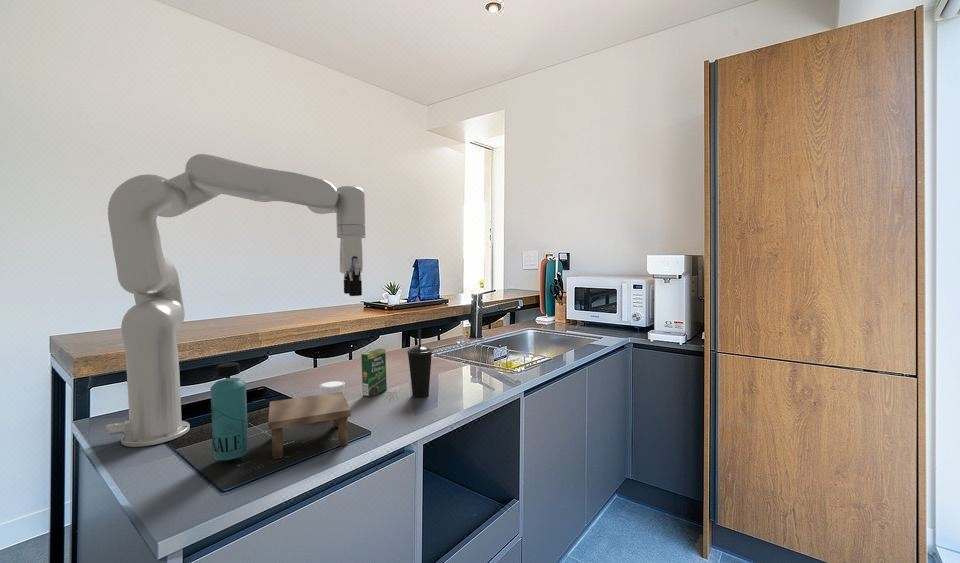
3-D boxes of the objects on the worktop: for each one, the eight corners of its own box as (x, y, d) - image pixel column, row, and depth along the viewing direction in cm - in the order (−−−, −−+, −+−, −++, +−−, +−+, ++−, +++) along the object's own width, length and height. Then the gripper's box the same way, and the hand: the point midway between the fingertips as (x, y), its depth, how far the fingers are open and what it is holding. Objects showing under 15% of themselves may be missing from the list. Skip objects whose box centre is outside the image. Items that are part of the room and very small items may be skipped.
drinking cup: (403, 398, 122) (402, 330, 121) (413, 390, 129) (412, 326, 128) (428, 400, 120) (427, 331, 119) (436, 392, 127) (436, 327, 126)
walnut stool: (269, 461, 84) (268, 422, 83) (270, 435, 96) (269, 401, 96) (351, 445, 91) (350, 409, 90) (342, 423, 103) (341, 391, 103)
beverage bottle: (242, 450, 89) (238, 358, 88) (255, 459, 85) (252, 362, 84) (207, 461, 84) (203, 364, 83) (219, 472, 80) (215, 369, 79)
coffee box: (368, 398, 122) (367, 354, 121) (361, 396, 124) (360, 353, 123) (387, 390, 129) (386, 349, 128) (380, 389, 131) (379, 348, 130)
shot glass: (337, 414, 109) (337, 388, 109) (314, 412, 111) (313, 386, 111) (350, 405, 116) (350, 380, 116) (328, 403, 118) (328, 379, 117)
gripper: (333, 234, 120) (334, 293, 121) (341, 229, 104) (342, 297, 105) (359, 234, 123) (361, 292, 124) (371, 230, 108) (372, 296, 108)
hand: (352, 294), depth 115 cm, fingers open, 9 cm apart
